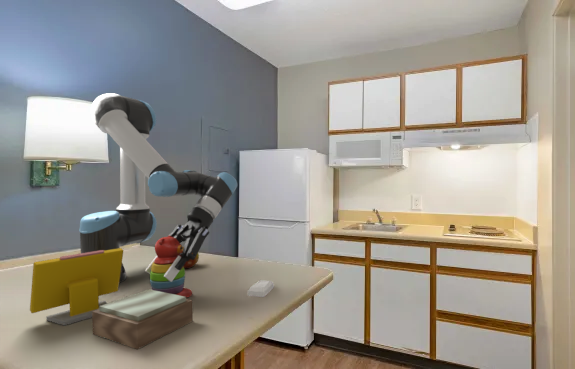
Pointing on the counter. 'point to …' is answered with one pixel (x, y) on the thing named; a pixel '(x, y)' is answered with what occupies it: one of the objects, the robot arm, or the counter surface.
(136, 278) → the counter surface
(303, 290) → the counter surface
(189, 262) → the fruit
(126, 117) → the robot arm
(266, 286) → the white beveled block
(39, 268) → the toy computer monitor
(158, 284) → the stacking bear
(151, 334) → the plinth
